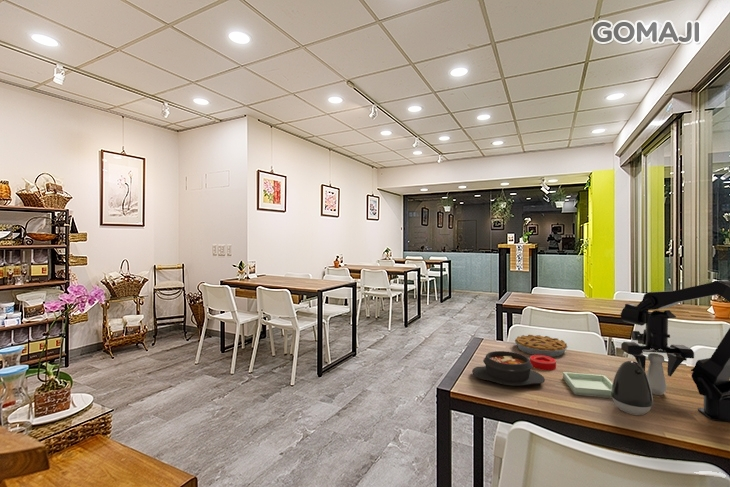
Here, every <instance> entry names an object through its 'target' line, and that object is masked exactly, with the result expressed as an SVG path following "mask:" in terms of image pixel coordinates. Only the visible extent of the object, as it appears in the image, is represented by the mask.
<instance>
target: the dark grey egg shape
mask: <svg viewBox="0 0 730 487" xmlns="http://www.w3.org/2000/svg"><path fill="white" fill-rule="evenodd" d="M613 377H614V378H613V381H612V383H613V384H612V389H611V396H612V397H613V398H612V400H613V402H614V405H615V406H616V407H617V408H618V409H620V410H621V411H622V412H624V413H627V414H629V415H634V416H641V415H642V416H643V415H645V414H647V413H648V412H650V410H651V409H652V406H653V405H654V398H653V394H652V391H651V387H650V383H649V380H648V377H647V372H646V370H645V371H644V369H643V368H642V366H641V365H640V364H638V363H637V361H634V360H626V361H623V362H622V363H621V365H619V367H618V368H617V370H616V372H615V375H614V376H613Z"/></svg>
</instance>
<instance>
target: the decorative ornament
mask: <svg viewBox="0 0 730 487" xmlns="http://www.w3.org/2000/svg"><path fill="white" fill-rule="evenodd" d="M529 360H530V363H531V364H532V366H533V368H534V369H537V370H542V371H553V370H554V371H555V370H556V369H557V361H556V359H555V358H553V357H548V356H544V355H533V354H532V355H530V357H529Z"/></svg>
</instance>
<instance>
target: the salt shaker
mask: <svg viewBox="0 0 730 487" xmlns="http://www.w3.org/2000/svg"><path fill="white" fill-rule="evenodd" d="M647 359H648V361H649V365H648V369H647V372H646V375H647V377H648V380H649V383H650V387H651V391H652V395H656V396H663V395H664V393H665V392H666V391H667V389H668V387H667V386H668V385H667V382H666V376H665V372H664V367H663V364H664V363H665V357H664V356H663V355H662V354H661V353H660V354H659V353H657V352H649V354H648V356H647Z"/></svg>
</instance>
